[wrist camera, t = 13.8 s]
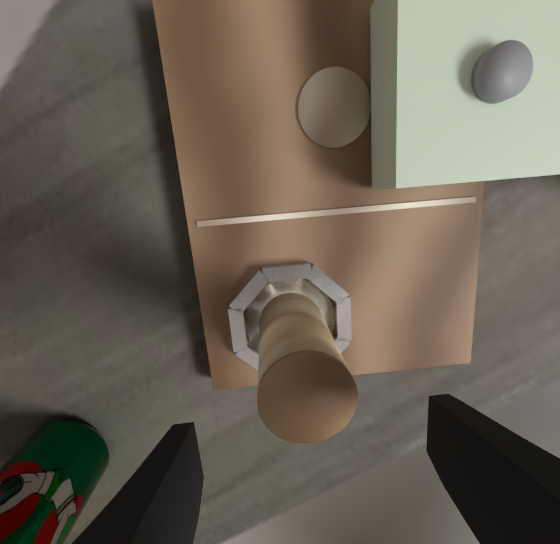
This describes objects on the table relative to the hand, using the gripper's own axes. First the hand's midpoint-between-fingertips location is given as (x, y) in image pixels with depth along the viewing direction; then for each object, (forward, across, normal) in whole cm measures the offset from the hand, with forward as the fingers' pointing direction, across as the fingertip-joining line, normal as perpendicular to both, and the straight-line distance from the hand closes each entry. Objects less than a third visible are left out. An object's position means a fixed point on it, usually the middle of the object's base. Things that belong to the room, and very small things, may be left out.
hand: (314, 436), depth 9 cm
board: (+10, -3, -6) cm, 12 cm away
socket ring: (+9, 0, 0) cm, 9 cm away
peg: (+9, 0, 0) cm, 9 cm away
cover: (+9, -9, -11) cm, 16 cm away
